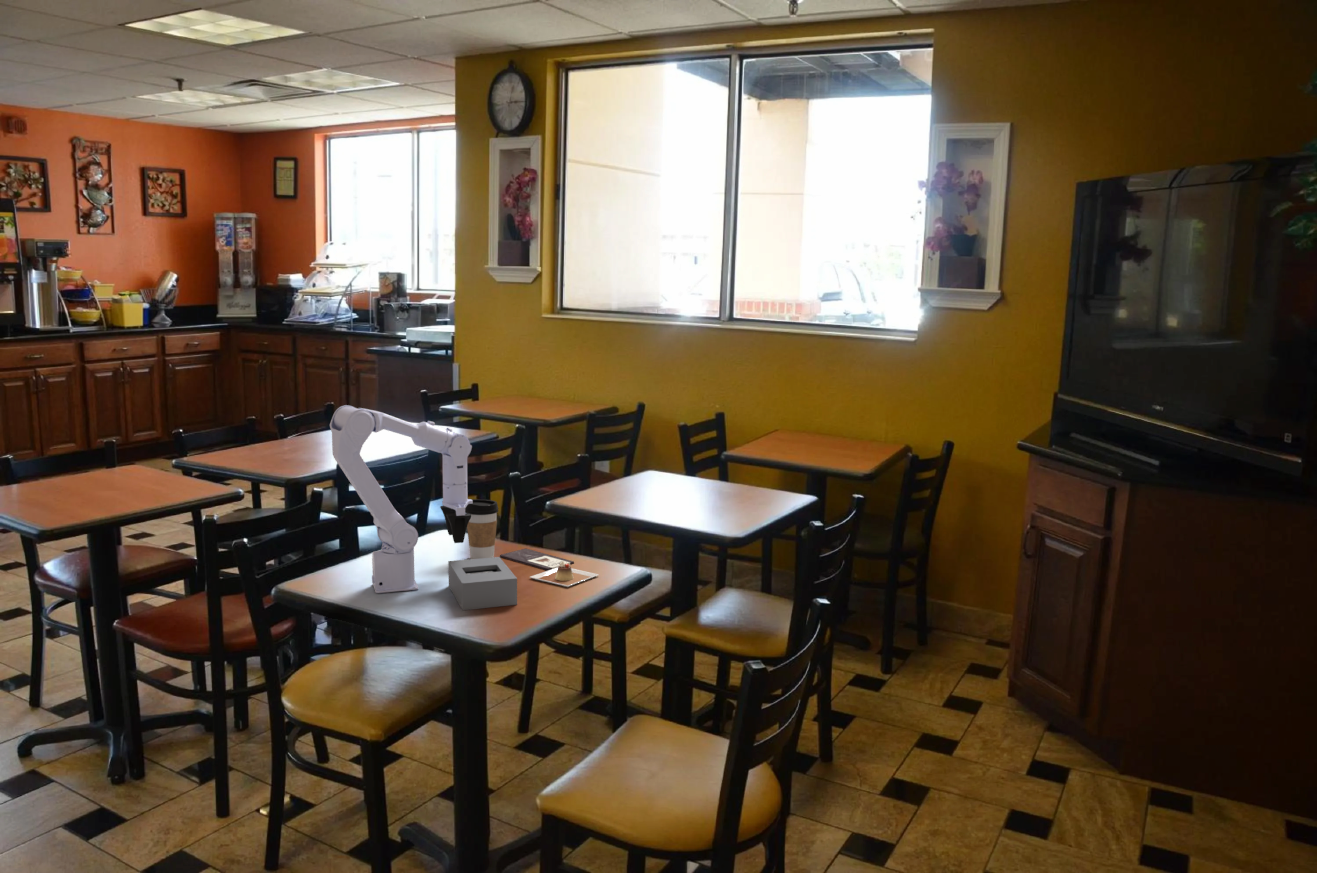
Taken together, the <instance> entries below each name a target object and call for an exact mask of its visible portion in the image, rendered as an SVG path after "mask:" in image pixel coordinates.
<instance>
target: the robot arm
mask: <svg viewBox="0 0 1317 873" xmlns="http://www.w3.org/2000/svg"><path fill="white" fill-rule="evenodd" d="M435 424H436V423H435V422H434V421H431V420H427V422H426V421H421V422H419V423H417V424H414V423H411V422H409V421H407V420H403V419H402V418H398V417H395V416H393V415H389V414H387V413H384V412H382V411H378V410H373V409H368V408H364V407H363V408H362V407H358V408H357V407H355V406H352V405H349V404H348V405H347V404H345V405H341V406H339V407H338V408H337V409H336V410H335V411H334V413H333V415H332V417H331V420H330V423H329V428H330V431H331V443H332V444H331V447H332V451H331V452H332V456H333V459H334V460H335V462H336V463H337V464H338V466H339V468H340V469H341V470H342V472H343V473H344V475H345V477H346V478H347V479H348V482H350V484H351V486H352V487H353V489H354V490H355V493H357V495H358V497H359V498H360V500H361V501H362V502H363V504H364V505H365V508H366V509H367V510H368V511H369V513H370V515H371V516H372V518H373V524H374V526H375V528H376V533H377V537H378V540H380V541H381V542H382V544H381V549H380V550H375V551H373V552H372V553H371V554H372V555H371V557H372V558H371V561H372V562H371V564H372V565H371V566H372V575H371V583H372V586H373V589H374V591H375V592H374V593H376V594H382V593H393V592H404V591H405V592H406V591H413V590H414V591H415V590H419V585H418V584H417V581H416V579H415V547H416V545H417V543H418V541H419V533H418V530H417V529H416V528H415V527H414V526H413V525H411V524H409V523H407V521H406V519H405V518H404V517H403V516H402V515H401V514H400V513H399V512H398V511H397V510H396V508H395V507H394V506H393V504H392V502H391V501H390V500H389V497H388V496H387V495H386V493H385V492H384V490H383V488H382V487H381V485H380V484H379V482H378V481H377V479H376V477H375V476H374V475H373V473H372V471H371V470H370V468H369V467H368V466H367V464H366V462H365V460H364V458H362V456H361V450H362V448H363V445H364V444H365V442H366V441H367V440H368V439H369V437H370V435H371V434H372V432H373V433H379V432H380V431H383V430H385V431H388V432H392V433H396V434H399V435H402V436H405V437H409V438H410V439H411V440H412V442H413V444H414V445H415V446H417V447H421V448H424V449H426V450H430V451H432V452H436V453H438V454H441V455H442V504H441V505H440V506H439V508H440V510H441V511H442V514H443V517H444V520H445V524H446V530H447V533H448V536H452V541H453V543H454V544H462V543H464V541H465V538H466V532H467V525H468V522H469V520H470V519H471V514H467V513H465V508H466V506H467V505H468V504H472V503H473V500H472V499H471V498H468V496H469V495H468V492H469V491H468V457H469V455H470V454H471V451H472V448H473V445H472V444H471V442H470V440H469V438H468V437H467V436H466V435H464V434H462V433H458V432H455V431H453V429H452V428H450V427H446V428H444V427H440V426H438V425H435Z"/></svg>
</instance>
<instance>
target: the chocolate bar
mask: <svg viewBox="0 0 1317 873" xmlns="http://www.w3.org/2000/svg"><path fill="white" fill-rule="evenodd" d="M499 557H500V558H501V559H502V558H503V559H506V560H510V561H512V562H516V563H520V564H524V565H525V566H529V565H530V567H534V568H536V569H537V568H538V569H540V570H543V571H548V570H551V569H554V568H557V567H559V566H560V565H559V564H560V563H561V562H562V561H564V563H565V564H569V566H571V565H573V564H574V563H575V562H574V560H569V559H566V558H563V557H560V556H555V555H551V554H547V553H544V552H541V551H538V550H533V549H530V548H521V549H518V550H517V549H516V550H514V551H509V552H507V553H502V554H499Z"/></svg>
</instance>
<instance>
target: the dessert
mask: <svg viewBox="0 0 1317 873" xmlns="http://www.w3.org/2000/svg"><path fill="white" fill-rule="evenodd" d="M559 565H560V566H559V567H557V568H554V569H551V570H548V571H547V570H544V571H543V572H540V573H537V574H533V575H531V576H529V578H530V579H533V580H535V581H539V582H543V583H544V582H545V583H548V584H552V585H557V586H561V587H565V588H569V587H572V586H574V585H577V584H579V583H582V582H585V581H588V580H591V579H593V578H595V577H597V576H600V574H598V573H594V572H589V571H585V570H581V569H576V568H572V567H571V565H569V564H565V563H564V561H562V562H561V563H560V564H559ZM554 573H556V574H555V577H554V580H557V581H561V582H565V581H566V582H567V581H568V582H569V581H572V580H573V579H575V577H574V574H577V575H583V576H587V578H584V579H581V580H579V581H576V582H573V583H571V584H568V585H567V584H562V583H557V582H553V581H550V580H546V579H541V578H543V577H546V576H549V575H552V574H554ZM573 573H574V574H573Z"/></svg>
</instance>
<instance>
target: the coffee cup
mask: <svg viewBox="0 0 1317 873" xmlns="http://www.w3.org/2000/svg"><path fill="white" fill-rule="evenodd" d="M472 500H473V503H472V504H468V505H467V506H466V508H465V514H471V519H470V520H469V522H468V525H467V528H466V531H467V538H468V545H469V556H470V557H469V558H470V559H480V558H492V557H495V547H496V546H495V544H496V535H497V524H498V519H497V515H498V514H497V513H498V512H499V506H498V502H497V501H496V500H491V499H479V498H478V499H472Z"/></svg>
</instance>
